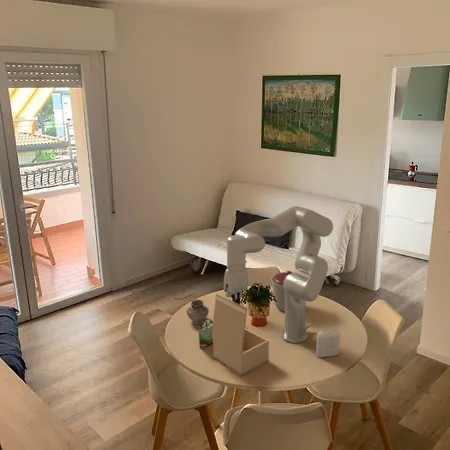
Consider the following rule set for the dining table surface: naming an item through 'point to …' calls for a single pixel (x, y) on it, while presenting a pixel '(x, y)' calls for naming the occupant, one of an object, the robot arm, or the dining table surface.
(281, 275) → the canister
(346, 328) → the dining table surface
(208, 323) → the food container
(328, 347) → the photo printer
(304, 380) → the dining table surface
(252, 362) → the carton
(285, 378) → the dining table surface
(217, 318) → the carton lid
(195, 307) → the pottery
